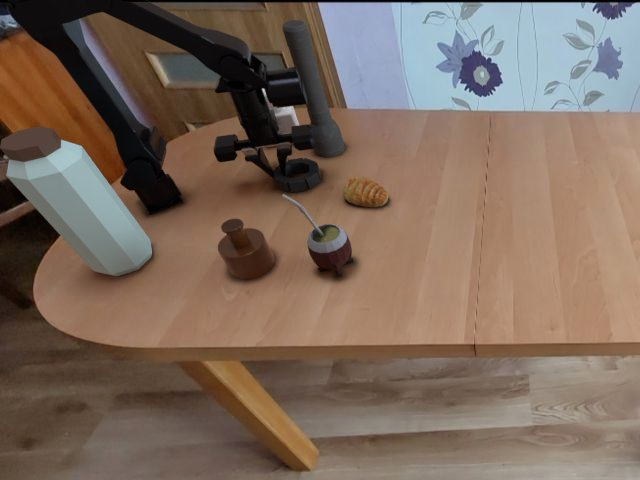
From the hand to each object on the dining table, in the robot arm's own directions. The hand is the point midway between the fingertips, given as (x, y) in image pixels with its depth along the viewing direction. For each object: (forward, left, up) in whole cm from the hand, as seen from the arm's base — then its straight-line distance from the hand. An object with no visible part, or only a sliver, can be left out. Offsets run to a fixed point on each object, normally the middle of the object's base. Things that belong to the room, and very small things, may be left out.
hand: (279, 177), depth 101 cm
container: (+8, +17, -2) cm, 19 cm away
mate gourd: (-4, -31, -2) cm, 31 cm away
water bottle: (-32, -5, -2) cm, 32 cm away
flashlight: (+14, +5, -2) cm, 15 cm away
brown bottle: (-15, -21, -1) cm, 25 cm away
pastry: (+11, -17, -2) cm, 20 cm away
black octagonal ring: (+3, -2, -1) cm, 4 cm away
